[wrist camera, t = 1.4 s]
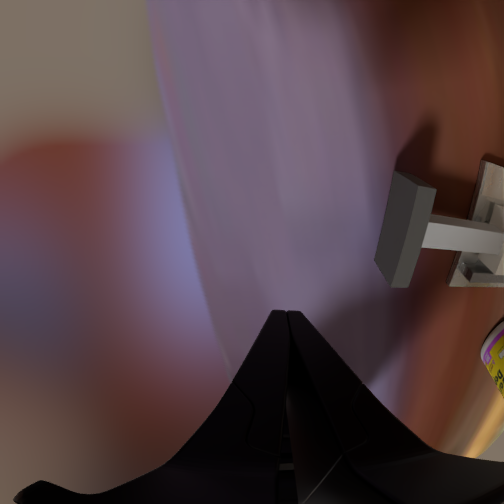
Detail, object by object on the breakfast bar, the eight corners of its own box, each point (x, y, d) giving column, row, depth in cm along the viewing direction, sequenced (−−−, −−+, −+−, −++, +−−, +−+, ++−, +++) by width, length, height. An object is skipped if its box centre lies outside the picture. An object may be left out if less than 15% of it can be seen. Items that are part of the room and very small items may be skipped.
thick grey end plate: (503, 268, 19) (524, 288, 16) (373, 259, 19) (390, 287, 16) (530, 180, 16) (557, 195, 13) (398, 141, 15) (424, 151, 13)
